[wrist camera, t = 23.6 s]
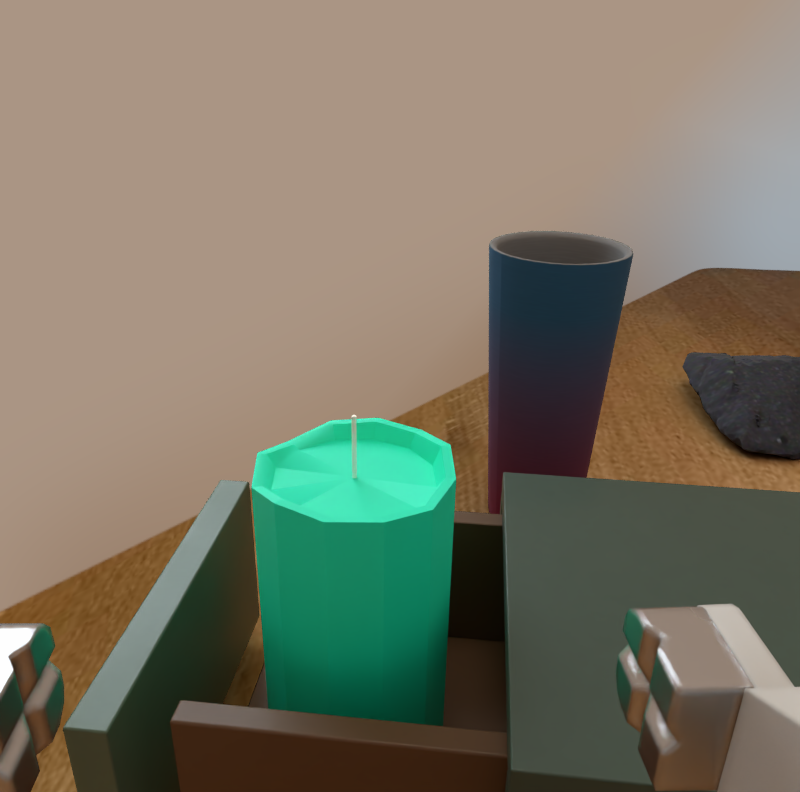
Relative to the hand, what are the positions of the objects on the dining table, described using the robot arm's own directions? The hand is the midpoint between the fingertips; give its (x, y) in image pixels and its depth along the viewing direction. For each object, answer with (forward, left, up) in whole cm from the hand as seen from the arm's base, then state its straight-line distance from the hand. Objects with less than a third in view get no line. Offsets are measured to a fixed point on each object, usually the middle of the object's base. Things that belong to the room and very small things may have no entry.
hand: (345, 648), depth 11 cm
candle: (-11, +2, -14) cm, 18 cm away
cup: (-25, +15, -16) cm, 33 cm away
